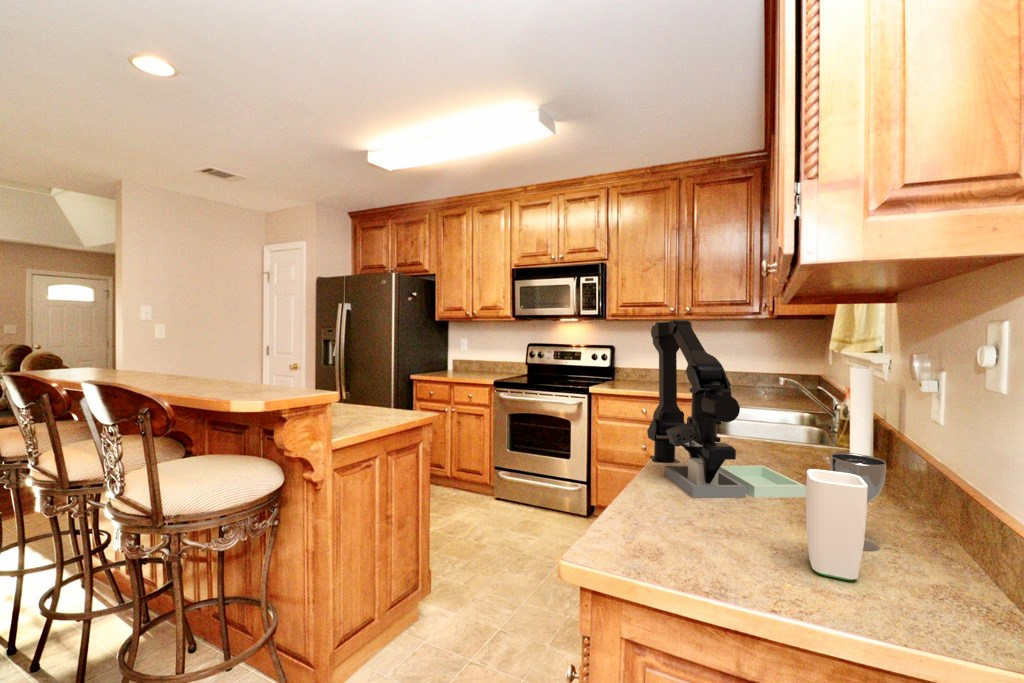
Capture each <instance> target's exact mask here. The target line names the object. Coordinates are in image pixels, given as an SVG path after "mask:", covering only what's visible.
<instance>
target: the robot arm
mask: <svg viewBox="0 0 1024 683" xmlns="http://www.w3.org/2000/svg"><path fill="white" fill-rule="evenodd" d="M650 336H651V337H652V345H653V346H654V347H655V349H656V351H657V352H658V393H659V394H658V398H659V399H658V406H657V407H656V408H655V410H654V411H653V413H652V414H653V415H652V420H651V422H650V425H648V429H647V431H646V432H647V438H648V439H649V440H651V441H653V442H654V444H653V445H654V447H653V449H654V451H653V455H649V458H650V459H651V460H652V461H653V462H655V463H661V464H662V463H666V464H667V463H668V464H669V463H671V464H672V463H675V464H677V463H681V462H680V460H678V459H676V448H677V447H681V448H683V449H684V450H685V451H687V453H688V455H689V458H701V459H702V460H703V465H704V476H705V482H706V483H711V482H712V480H713V478H714V476H715V475H716V473H717V471H718V470H719V468H720V467H721V466H723V464H724V463H725V461H726V460H734V461H735V460H736V459H737V450H736V449H735V448H734V446H732V445H730V444H728V443H726V442H721V437H719V436H718V426H719V425H722V422H723V423H731V422H733V421H735V420H736V419H737V418H738V417H739V415H740V410H741V407H740V405H739V402H738V400H736V398H734V397H733V396H732V389H731V382H730V381H729V379H728V377H727V374H726V371H725V368H724V367H723V365H722V363H721V362H720V361H719V360H718V359H717V358H716V357H715V356H714V355H712V354H710V353H708V352H707V351H706V350H705V348H704V347H703V345H702V343H701V341H700V340H699V338H698V336H697V335H696V333H695V331H694V329H693V324H692V322H691V321H690V320H687V319H672V320H670V321H656V322H655V324H653V325H652V326H651V328H650ZM679 350H680V351H681V352H682V355H683V357H684V359H685V360H686V363H687V366H686V368H685V373H686V377H687V380H688V381H689V384H690V385H691V387H690V388H689V393H692V394H691V414H690V416H688V417H687V418H686V422H685V413H684V411H682V410H681V408H680V407H679V406H678V384H677V383H678V380H677V379H678V378H677V375H678V373H677V368H678V367H677V362H678V360H677V358H678V357H677V353H678V351H679Z"/></svg>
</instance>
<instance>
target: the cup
mask: <svg viewBox="0 0 1024 683" xmlns="http://www.w3.org/2000/svg"><path fill="white" fill-rule="evenodd" d="M805 483H806V485H805V486H806V497H805V511H806V512H805V514H806V516H805V518H806V521H805V522H806V537H807V539H806V540H807V549H808V559H809V562H810V566H811V568H812V569H813V570H814V572H816V573H817V574H819V575H821V576H824V577H830V578H835V579H840V580H844V581H854V580H857V579H858V578H859V572H860V569H861V563H862V559H863V552H864V551H863V546H864V537H865V534H866V527H867V526H866V525H867V524H866V523H867V509H868V508H867V507H868V504H867V488H868V485H867V484H866V483H865V482H864V480H863V479H862V478H861V477H860V476H857V475H854V474H849V473H842V472H834V471H831V470H827V469H826V470H825V469H813V468H812V469H810V468H809V469H807V470H806V482H805ZM865 538H866V537H865Z"/></svg>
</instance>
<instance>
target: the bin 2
mask: <svg viewBox="0 0 1024 683" xmlns="http://www.w3.org/2000/svg"><path fill="white" fill-rule="evenodd" d="M719 471H721V472H722V473H724V474H726V475H727V476H729V477H731V478H733V479H734V480H736V481H738V482H739V483H741V484H743V485H744V486H746V495H747V494H748V495H749V496H751V497H752V498H754V499H758V498H759V499H763V498H764V499H766V498H767V499H768V498H769V499H770V498H771V499H772V498H773V499H775V498H778V499H779V498H781V499H782V498H788V499H789V498H806V485H805V484H803V483H801V482H799V481H797V480H794V479H793V478H791V477H788V476H787V475H784V474H782V473H780V472H778V471H775V470H773V469H772V468H770V467H767V466H765V465H764V464H763V465H721V467H720V468H719Z"/></svg>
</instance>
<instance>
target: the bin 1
mask: <svg viewBox="0 0 1024 683" xmlns="http://www.w3.org/2000/svg"><path fill="white" fill-rule="evenodd" d="M664 477H666V478H667V479H668V481H671V482H672V483H673V484H674V485H676V486H677V487H678V488H679V489H681V490H682V491H683V492H685V493H686V494H687V495H688V496H690V497H691V498H692V499H746V495H747V493H746V486H744V485H743V484H741V483H739V482H738V481H736V480H734V479H733V478H731V477H729V476H727V475H726V474H724V473H722V472H721V471H719V470H718V485H695V484H693V483H692V482H691V481H689V480H688V465H664Z"/></svg>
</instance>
